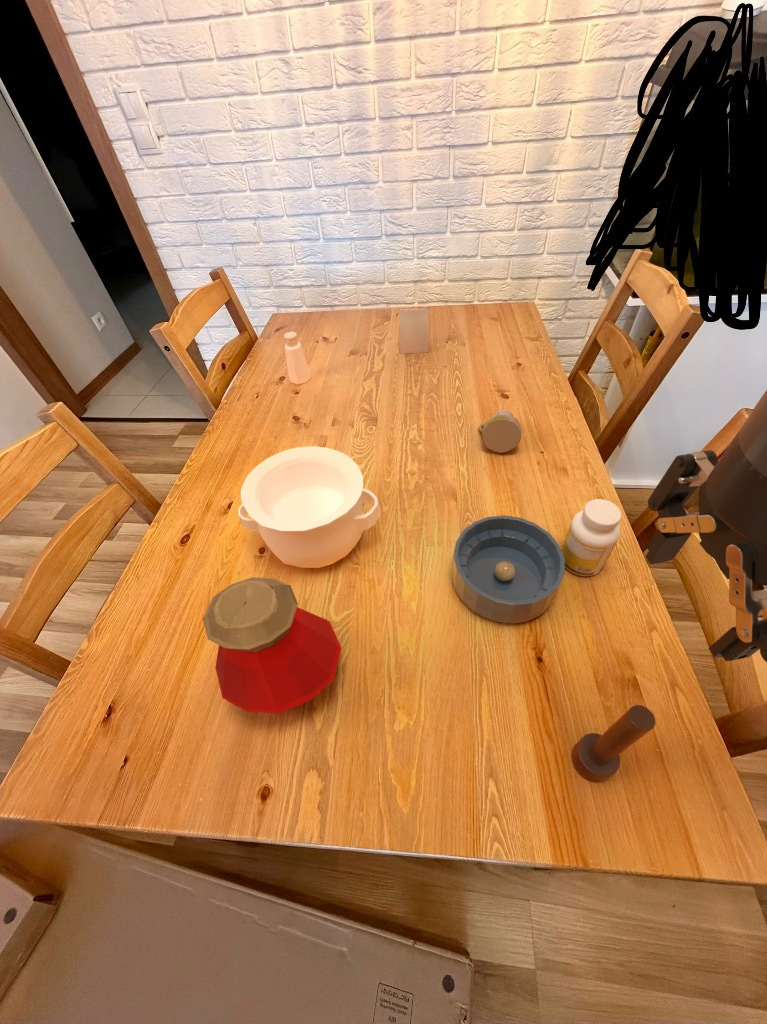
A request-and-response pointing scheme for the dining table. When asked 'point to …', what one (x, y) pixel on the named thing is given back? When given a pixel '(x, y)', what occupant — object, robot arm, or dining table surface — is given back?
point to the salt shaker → (296, 360)
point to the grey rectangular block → (414, 330)
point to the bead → (505, 571)
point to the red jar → (269, 646)
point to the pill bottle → (591, 537)
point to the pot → (307, 505)
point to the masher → (610, 744)
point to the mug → (501, 432)
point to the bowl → (518, 545)
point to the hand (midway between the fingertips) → (687, 601)
